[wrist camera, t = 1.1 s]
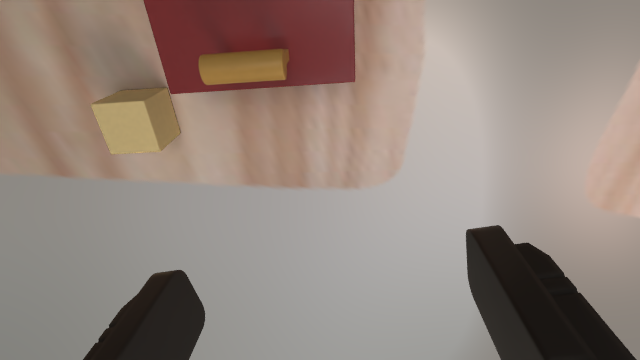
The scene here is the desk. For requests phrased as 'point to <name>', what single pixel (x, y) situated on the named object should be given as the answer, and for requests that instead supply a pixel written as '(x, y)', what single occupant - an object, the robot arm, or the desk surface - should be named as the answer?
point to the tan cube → (137, 120)
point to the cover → (253, 43)
